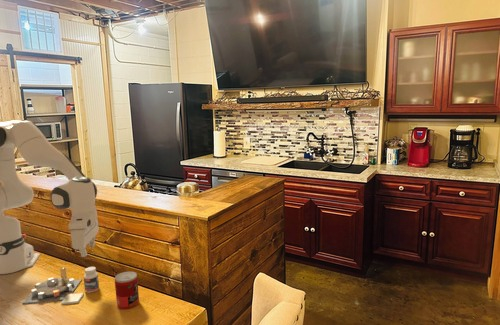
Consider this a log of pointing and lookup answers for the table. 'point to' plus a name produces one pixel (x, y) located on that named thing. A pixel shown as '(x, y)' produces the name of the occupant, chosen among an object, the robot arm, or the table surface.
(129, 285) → the canned food
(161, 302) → the table surface
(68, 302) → the pad
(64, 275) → the sprocket
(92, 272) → the pill bottle
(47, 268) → the table surface
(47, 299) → the gray square plate
